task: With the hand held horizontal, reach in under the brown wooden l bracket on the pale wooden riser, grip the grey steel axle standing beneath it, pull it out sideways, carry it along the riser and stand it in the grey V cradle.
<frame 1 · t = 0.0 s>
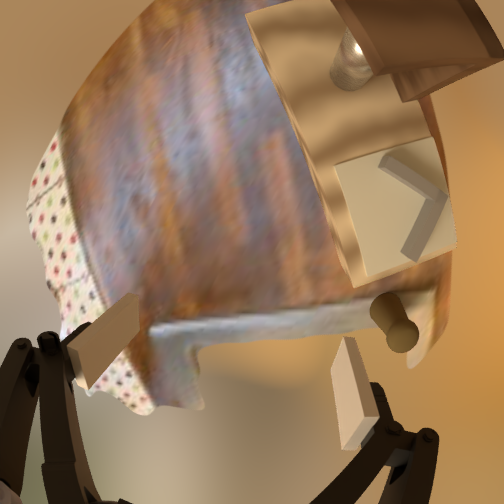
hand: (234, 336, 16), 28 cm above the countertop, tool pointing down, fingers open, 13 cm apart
riser: (349, 131, 37), on the countertop
axle: (359, 56, 21), on the riser, point 16 cm above the countertop
brown wooden l bracket: (387, 46, 17), on the riser, point 19 cm above the countertop
v cradle: (396, 207, 30), resting on riser
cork: (385, 307, 44), on the countertop
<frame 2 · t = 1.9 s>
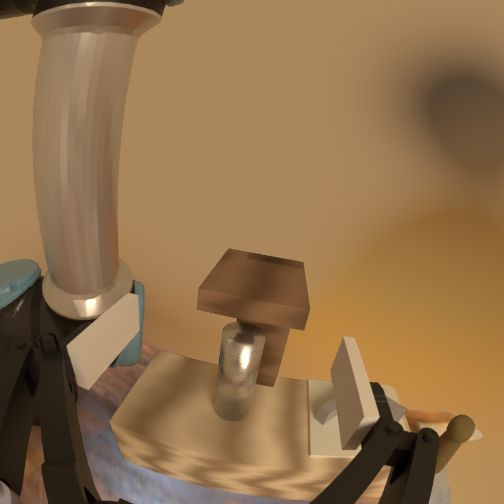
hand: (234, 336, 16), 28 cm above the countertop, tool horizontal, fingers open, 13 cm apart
riser: (264, 453, 33), on the countertop
axle: (237, 375, 29), on the riser, point 16 cm above the countertop
brown wooden l bracket: (247, 346, 30), on the riser, point 19 cm above the countertop
v cradle: (358, 422, 30), resting on riser
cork: (430, 462, 29), on the countertop
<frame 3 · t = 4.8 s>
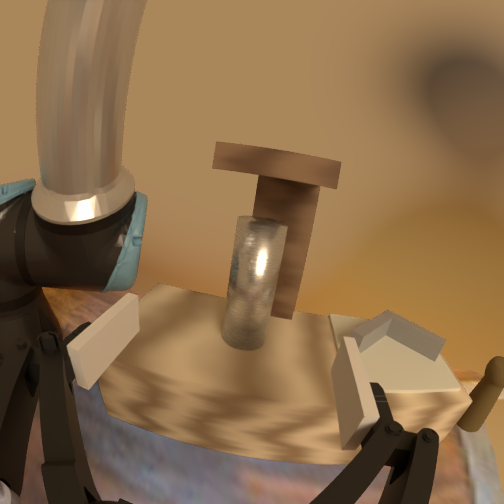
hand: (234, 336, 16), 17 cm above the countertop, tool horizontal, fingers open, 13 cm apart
riser: (280, 409, 30), on the countertop
axle: (252, 284, 26), on the riser, point 16 cm above the countertop
brown wooden l bracket: (264, 249, 27), on the riser, point 19 cm above the countertop
v cradle: (394, 357, 26), resting on riser
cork: (467, 419, 26), on the countertop
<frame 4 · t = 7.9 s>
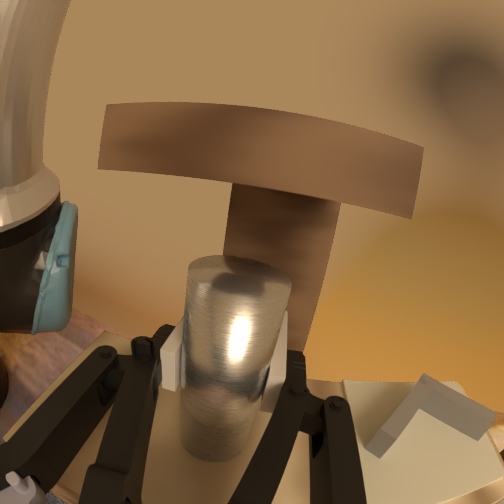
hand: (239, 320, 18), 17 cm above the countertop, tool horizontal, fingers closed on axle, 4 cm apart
riser: (271, 497, 18), on the countertop
axle: (222, 377, 14), on the riser, point 16 cm above the countertop, touching gripper
brown wooden l bracket: (241, 314, 15), on the riser, point 19 cm above the countertop
v cradle: (430, 445, 14), resting on riser
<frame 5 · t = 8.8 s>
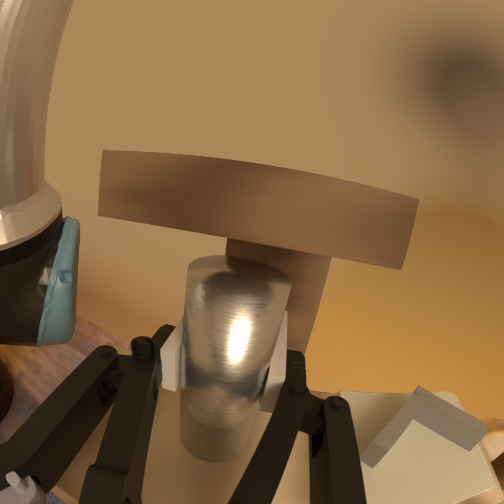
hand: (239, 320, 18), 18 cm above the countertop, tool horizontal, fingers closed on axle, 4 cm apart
riser: (269, 502, 18), on the countertop
axle: (222, 377, 14), point 18 cm above the countertop, touching gripper
brown wooden l bracket: (240, 336, 15), on the riser, point 19 cm above the countertop
v cradle: (422, 455, 15), resting on riser
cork: (487, 484, 14), on the countertop
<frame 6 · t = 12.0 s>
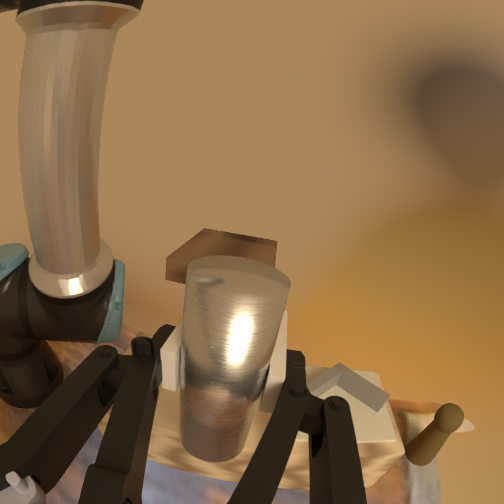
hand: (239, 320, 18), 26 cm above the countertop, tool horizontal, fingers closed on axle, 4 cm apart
riser: (244, 439, 34), on the countertop
axle: (221, 377, 14), point 26 cm above the countertop, touching gripper
brown wooden l bracket: (221, 323, 31), on the riser, point 19 cm above the countertop
v cradle: (338, 407, 31), resting on riser
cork: (419, 453, 30), on the countertop
when the fingers open (18 cm above the countertop, at t = 16.3 s): axle drops 1 cm, resting on v cradle.
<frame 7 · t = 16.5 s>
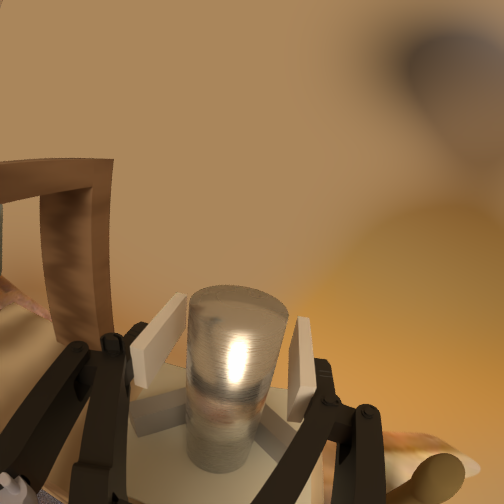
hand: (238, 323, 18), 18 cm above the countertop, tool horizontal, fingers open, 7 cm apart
riser: (107, 459, 20), on the countertop
axle: (225, 397, 14), point 16 cm above the countertop, touching v cradle
brown wooden l bracket: (29, 278, 16), on the riser, point 19 cm above the countertop
v cradle: (213, 451, 16), resting on riser
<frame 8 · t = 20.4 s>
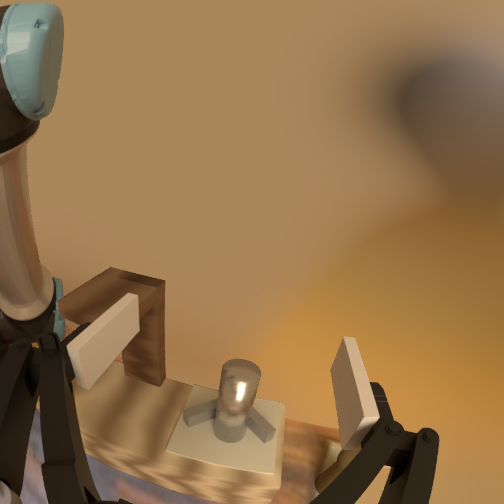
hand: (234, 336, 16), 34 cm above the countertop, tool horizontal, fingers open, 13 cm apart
riser: (158, 445, 36), on the countertop
axle: (234, 404, 31), point 16 cm above the countertop, touching v cradle
brown wooden l bracket: (119, 348, 33), on the riser, point 19 cm above the countertop
v cradle: (227, 432, 33), resting on riser
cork: (331, 485, 32), on the countertop
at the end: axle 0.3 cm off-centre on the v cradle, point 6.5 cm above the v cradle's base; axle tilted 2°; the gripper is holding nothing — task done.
